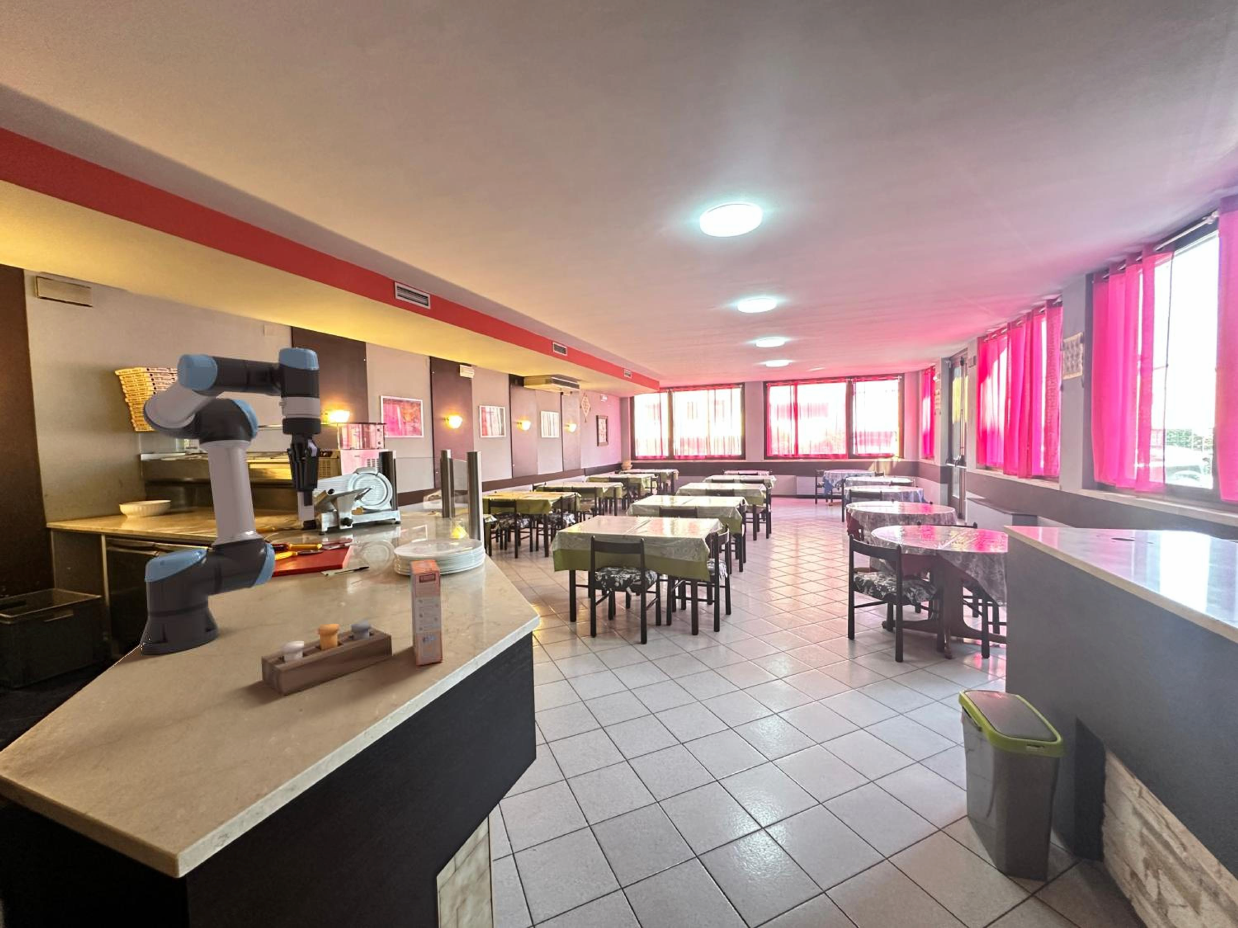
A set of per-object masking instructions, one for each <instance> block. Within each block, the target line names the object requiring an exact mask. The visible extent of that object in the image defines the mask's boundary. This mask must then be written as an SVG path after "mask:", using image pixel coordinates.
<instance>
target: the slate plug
mask: <svg viewBox="0 0 1238 928" xmlns="http://www.w3.org/2000/svg"><path fill="white" fill-rule="evenodd" d="M371 627H372V624H371V622H370V621H361V622H356V623H353V624H352V625H351V629H350V630H351V631H352V632H353V633H354V640H355V641H357V640H360V639H363V638H367V637H369V629H370V628H371Z"/></svg>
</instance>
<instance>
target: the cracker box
mask: <svg viewBox="0 0 1238 928" xmlns="http://www.w3.org/2000/svg"><path fill="white" fill-rule="evenodd" d="M409 564H410V565H409V568H410V570H409V571H410V594H411V595H410V596H411V601H410V602H411V624H412V625H411V627H412V628H411V630H412V631H411V632H412V647H413V648H412V649H413V653H414V658H415V659H414V660H415V664H416V666H417V667H419V666H424V665H428V664H434V663H439V662H443V660H444V659H443V658H444V657H443V653H444V652H443V627H442V624H443V623H442V620H443V619H442V598H441V596H442V595H441V594H442V590H441V570H440V568H439V566H438V565H437V563H436V561H435V559H432V558H431V559H429V558H428V559H421V560H414V561H413V560H412V561H410V563H409Z"/></svg>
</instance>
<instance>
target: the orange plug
mask: <svg viewBox="0 0 1238 928" xmlns="http://www.w3.org/2000/svg"><path fill="white" fill-rule="evenodd" d="M339 627H340V624H338V623H329V624H324V625H321V626H320V627H318V628H317V634H318V635H319V636H320V638H319V639H320V641H321V651H325V650H329V649H332V648H335V647H338V644H337V634H338V631H339V630H340V628H339Z"/></svg>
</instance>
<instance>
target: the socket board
mask: <svg viewBox="0 0 1238 928" xmlns="http://www.w3.org/2000/svg"><path fill="white" fill-rule="evenodd" d="M392 640H393V639H392V635H390V634H388V633H386V632H384V631H381V630H379V629H376V628H374V627H372V626H371V628H370V629H369V637H367V638H363V639H360V640H357V641H355V640H354V633H353V632H352V631H351V629H350V630H347V631H343V632H340V633H339V632H338V633H337V644H338V647H335V648H332V649H329V650H325V651H321V641H320V638H319V639H316V640H313V641H310V642H304V648H303V649H302V655H303V658H300V659H297V660H294V661H291V662H287V663H285V661H284V653H282V650H279V651H276V652H272V653H269V654H266V655H263V656H260V657H261V659H260V660H261V679H262V681H263V682H265V683H266V684H267V685H268V686H270V688H272V689H274V690H275V691H276V692H277V693H278V694H280V695H282V696H283V697H285V696H288V695H291V694H293V693H296V692H299V691H302V690H304V689H307V688H309V687H312V686H315V685H318V684H321V683H324V682H326V681H327V682H328V681H330V680H332V679H335V678H337V677H340V676H343V675H347V674H348V673H352V672H354V671H357V670H361V669H363V668H366V667H368V666H372V665H375V664H377V663H379V662H382V661H385V660H388V659H391V658H393V645H392V643H393V642H392Z"/></svg>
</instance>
